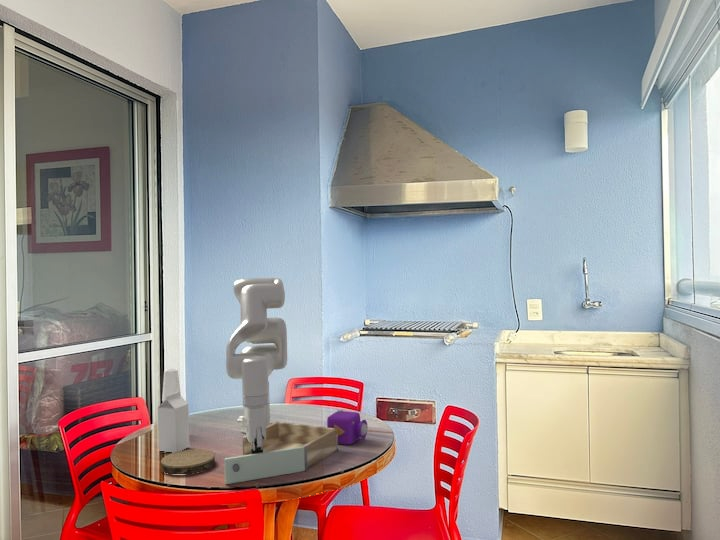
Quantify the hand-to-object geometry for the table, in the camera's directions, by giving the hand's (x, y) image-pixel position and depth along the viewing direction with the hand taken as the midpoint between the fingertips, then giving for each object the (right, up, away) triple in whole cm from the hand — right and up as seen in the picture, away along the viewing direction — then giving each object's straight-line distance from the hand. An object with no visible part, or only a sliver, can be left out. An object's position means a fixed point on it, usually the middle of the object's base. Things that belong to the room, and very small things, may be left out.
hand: (257, 462), depth 162 cm
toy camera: (+26, -3, +29) cm, 39 cm away
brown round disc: (-23, -5, +9) cm, 25 cm away
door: (+3, -3, -3) cm, 5 cm away
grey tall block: (-39, -5, +43) cm, 59 cm away
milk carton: (-33, -5, +25) cm, 42 cm away
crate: (+8, -3, +17) cm, 19 cm away
